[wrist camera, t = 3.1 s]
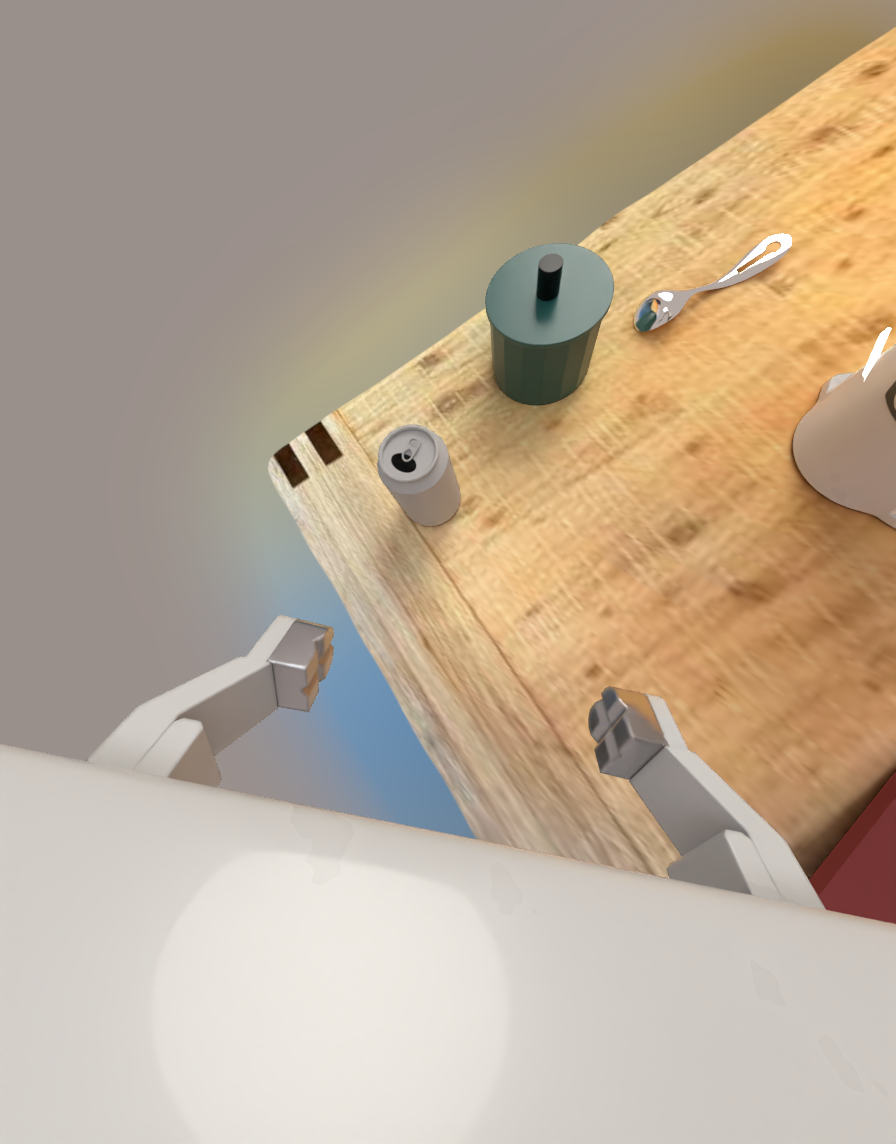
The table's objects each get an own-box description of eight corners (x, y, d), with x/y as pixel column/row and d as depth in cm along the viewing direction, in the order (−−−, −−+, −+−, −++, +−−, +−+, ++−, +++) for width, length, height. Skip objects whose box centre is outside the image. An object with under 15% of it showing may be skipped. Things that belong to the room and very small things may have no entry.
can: (394, 510, 46) (356, 464, 35) (426, 465, 47) (399, 405, 35) (440, 539, 44) (415, 500, 33) (473, 491, 45) (460, 437, 33)
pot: (553, 311, 49) (563, 233, 40) (607, 371, 45) (632, 301, 36) (477, 359, 49) (469, 292, 40) (525, 422, 46) (529, 365, 37)
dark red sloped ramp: (876, 736, 36) (717, 928, 32) (938, 743, 31) (761, 970, 27) (1004, 848, 32) (844, 1078, 28) (1095, 875, 28) (919, 1156, 24)
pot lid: (564, 234, 40) (570, 189, 36) (638, 307, 37) (653, 265, 33) (464, 297, 41) (459, 259, 37) (527, 375, 37) (529, 342, 33)
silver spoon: (788, 205, 42) (816, 228, 40) (769, 238, 45) (794, 260, 44) (631, 298, 44) (653, 323, 43) (624, 322, 47) (644, 347, 46)
